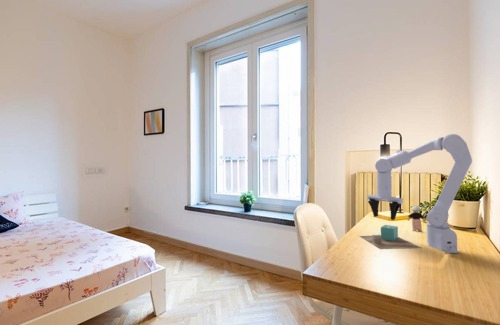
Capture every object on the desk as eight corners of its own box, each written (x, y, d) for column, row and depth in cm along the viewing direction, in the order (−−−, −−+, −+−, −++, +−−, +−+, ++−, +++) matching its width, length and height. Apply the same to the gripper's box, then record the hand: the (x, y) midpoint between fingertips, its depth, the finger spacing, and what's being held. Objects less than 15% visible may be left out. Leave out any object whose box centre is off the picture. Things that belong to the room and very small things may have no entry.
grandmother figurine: (422, 230, 128) (421, 204, 128) (426, 232, 124) (426, 206, 124) (405, 230, 129) (405, 204, 129) (409, 232, 125) (409, 206, 125)
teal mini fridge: (397, 238, 113) (397, 226, 113) (393, 241, 108) (393, 228, 108) (385, 236, 116) (385, 224, 116) (381, 239, 112) (380, 227, 112)
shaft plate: (421, 251, 99) (421, 239, 99) (380, 252, 99) (379, 241, 99) (394, 237, 117) (394, 228, 117) (359, 238, 117) (358, 229, 117)
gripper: (363, 185, 118) (363, 216, 118) (396, 188, 105) (396, 222, 106) (372, 185, 121) (372, 214, 121) (405, 187, 109) (405, 220, 109)
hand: (384, 217), depth 114 cm, fingers open, 7 cm apart
